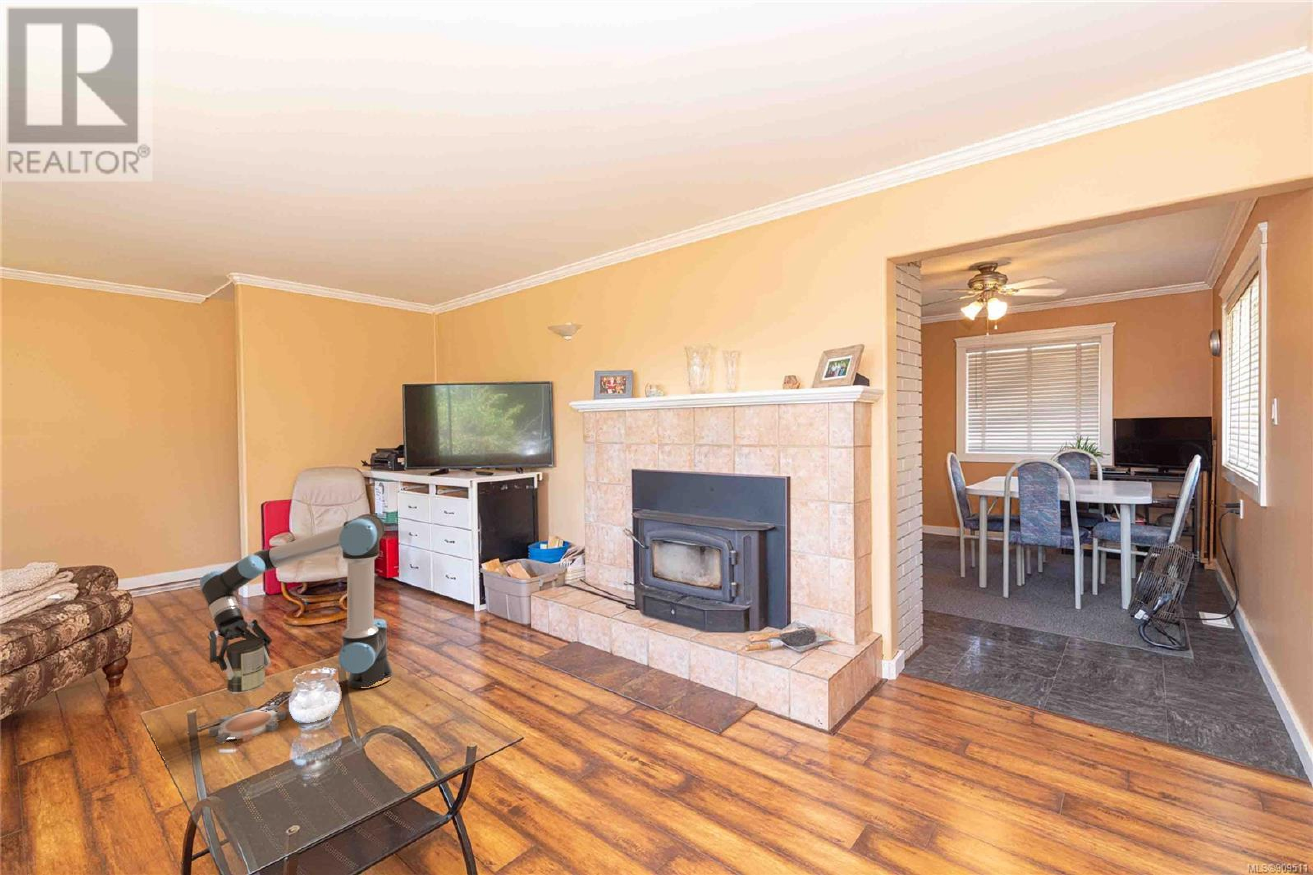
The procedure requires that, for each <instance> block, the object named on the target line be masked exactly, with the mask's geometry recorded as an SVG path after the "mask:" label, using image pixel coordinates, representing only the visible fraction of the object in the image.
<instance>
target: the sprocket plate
mask: <svg viewBox="0 0 1313 875" xmlns="http://www.w3.org/2000/svg"><path fill="white" fill-rule="evenodd" d="M278 708H279V705H278V704H277V705H275V704H271V705H269V706H267V707H265V709H255V706H253V705H252V706H249V707H245V710H244V712H242V713H238V714H236V715H234V716H233V715H227V714H225V715H223V716H221V717H220V718H219V725H216V726H210V727H209V728H208V729H209V730H208V735H209V736H208V737H209V738H212V737H216V738H215V739H216V744H221V743H223V742H225V740H226V739H227V738H228V737H235V738H236V739H237V740H242V743H244V742H248V741H252V740H253V737H254V736H258V735H260V734H262V733H265V732H269V733H270V732H274V731H276V730H277V729H278V728H279V722H278V721H277V720H280V721H283V720H286V717H287V716H286V715H287V713H286V710H285V709H283V710H279V709H278ZM254 709H255V710H254ZM260 710H269V711H267V712H261V711H260ZM275 710H278V711H277V712H275ZM225 743H226V742H225ZM223 744H224V743H223Z"/></svg>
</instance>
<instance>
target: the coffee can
mask: <svg viewBox="0 0 1313 875" xmlns="http://www.w3.org/2000/svg"><path fill="white" fill-rule="evenodd" d="M264 644H265V641H264V640H262V639H241V640H238V641H235V642H233V643H230V644H228V645H227V647H226V651H225V654H226V657H227V658H228V660H229V663H230V665H231V668H232V670H233V673H234V676H233V678H232V679H231V680H229V679H228V677H227V676H226V683H227V684H226V688H227V690H226V692H227V693H228V694H230V695H231V694H232V695H244V694H248V693H251V692H254V691H257V690H259V689H261V688H262V687H263V686H265V684H266V681H265V678H266V677H265V673H266V672H265V664H264Z"/></svg>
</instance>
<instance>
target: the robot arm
mask: <svg viewBox="0 0 1313 875" xmlns="http://www.w3.org/2000/svg"><path fill="white" fill-rule="evenodd" d="M385 528H386V527H385V523H384V521H383V519H382V518H381V517H379V516H378V515H376V514H373V513H365V514H361V515H359V516H357V517H355V518H353V519H350V520H347V521H344V522H343V523H342V525H340V526H338V527H334V528H331V529H328V530H325V531H320V532H318V533H315V534H313V535H309V536H306V537H303V538H300V539H295V540H293V541H290V542H287V543H284V544H280V545H278V546H274V547H271V548H267V549H262V550H259V551H256V552H254V553H253V554H249V555H247V556H246V557H244V558H241V559H240V560H239V561H237V563H235V564H233V565H231V566H230V567H228V569H227V570H225V571H222V570H214V571H211V572H210V573H206V574H204V575H202V577H201V578H200V580H199V586H200V588H201V590H200V591H201V593H202V595H203V597H204V599H205V601H206V603H207V606H208V609H209V611H210V614H211V617H212V618H213V621H214V625H215V627H216V629H217V630H215V631H214V630H211V631H210V632H209V633H208V635H207V639H208V641H209V663H216V664H218V665H219V668H220V670H221V671H222V672H223V671H225V675H226V678H227V677H228V679H229V680H231V679H232V678H233V676H234V673H233V670H232V668H231V665H230V663H229V660H228V658H227V656H225V654H226V647H227V646H228V645H229V641H233V640H235V639H240V638H242V639H243V640H245V639H262V640H264V641H265V644H264V667H265V669H267V668H269V667H270V665H271V664H272V661H271V659H270V657H269V656H270V654H271V651H270V649H269V646H271V643H272V641H273V639H272V638H271V637H270V636H269V635H268V633H267V632H266V631H265V630H264V629H263V628H262V627H261V626H260V625H259V623H258V620H257V619H253V620H252V621H249V622H247V621H246V620H245V617H244V615H243V613H242V611H241V609H240V606H239V603H238V601H237V599H236V596H235V592H236V591H237V590H239V589H241V588H242V587H244V586H245V585H247V584H248V583H250V582H252V581H253V580H254V579H256V578H258V577H259V576H261V575H262V574H264V573H266V572H269V571H272V570H275V569H278V568H281V567H283V566H287V565H290V564H293V563H296V562H299V561H303V560H306V559H309V558H313V557H315V556H319V555H321V554H325V553H327V552H330V551H334V550H338V549H342V559H343V560H345V562H347V572H346V573H347V579H346V581H347V583H346V584H347V585H346V586H347V588H346V590H347V592H346V593H347V594H346V596H347V598H346V600H347V601H346V603H347V604H346V605H347V607H346V610H347V611H346V614H347V615H346V629H345V630H343V631H342V634H341V635H342V636H341V649H340V650H339V653H338V657H337V658H338V660H337V661H338V665H339V666H340V667H341V669H343V670H344V671H346V673H349V675H348V678H347V679H348V683H347V684H348V686H349V687H350V688H352V689H357V690H360V689H359V688H361V687H369V686H371V685H373V684H375V683H376V682H378V681H382V680H383V679H384V678H388V677H391V676H392V677H393V669H392V666H391V664H390V661H389V659H388V642H387V641H388V640H387V639H388V634H387V632H388V631H387V630H388V625H387V620H385V619H383V618H375V560H376V559H377V558H378V557H379V555H380V541H381V539H382V538H383V537H384V534H385V530H386V529H385ZM247 627H248V628H247ZM249 629H251V630H249ZM251 631H252V632H253V633H252V632H251ZM218 636H219V637H222V638H223V639H222V644H221V647H220V650H219V653H218V652H217V648H218V646H217V645H218V644H217V643H218V642H217V638H218ZM217 653H218V655H217Z"/></svg>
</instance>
